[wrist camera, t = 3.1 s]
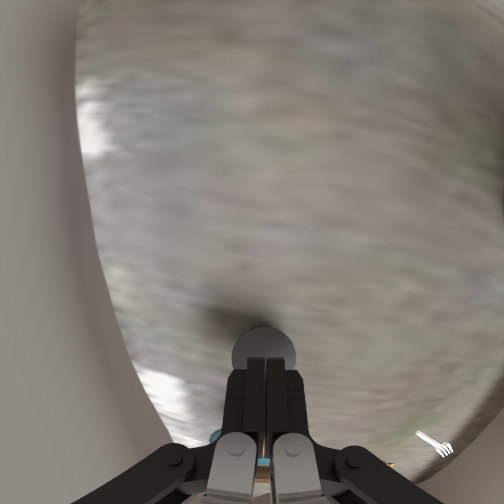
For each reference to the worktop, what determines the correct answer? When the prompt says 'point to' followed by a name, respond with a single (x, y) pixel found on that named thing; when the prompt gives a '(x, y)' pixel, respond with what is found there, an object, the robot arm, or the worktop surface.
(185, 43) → the worktop surface
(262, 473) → the wall
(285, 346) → the dark grey ball
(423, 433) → the fork
